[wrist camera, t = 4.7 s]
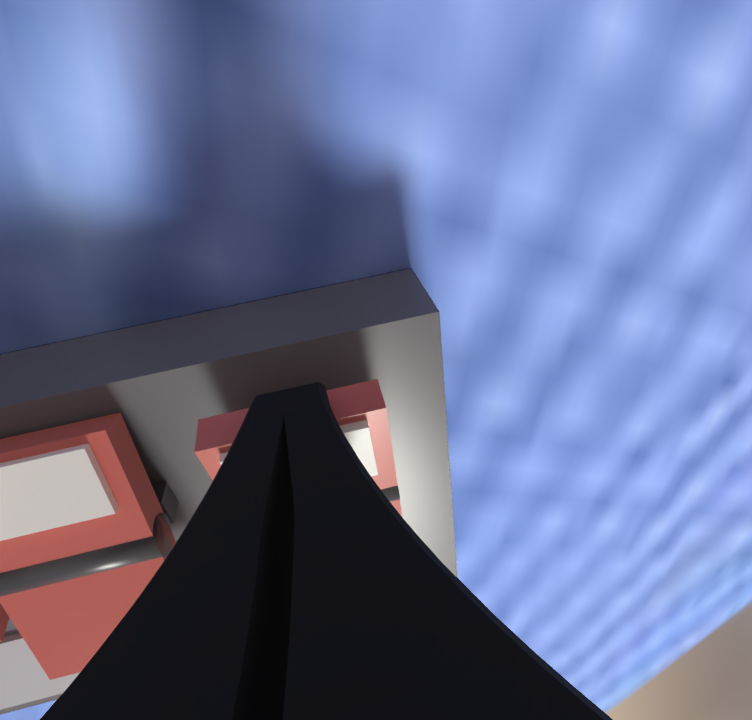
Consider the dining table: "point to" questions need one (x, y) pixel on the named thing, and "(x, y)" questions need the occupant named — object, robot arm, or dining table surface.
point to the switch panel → (240, 401)
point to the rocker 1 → (3, 622)
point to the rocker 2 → (76, 537)
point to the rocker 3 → (355, 417)
